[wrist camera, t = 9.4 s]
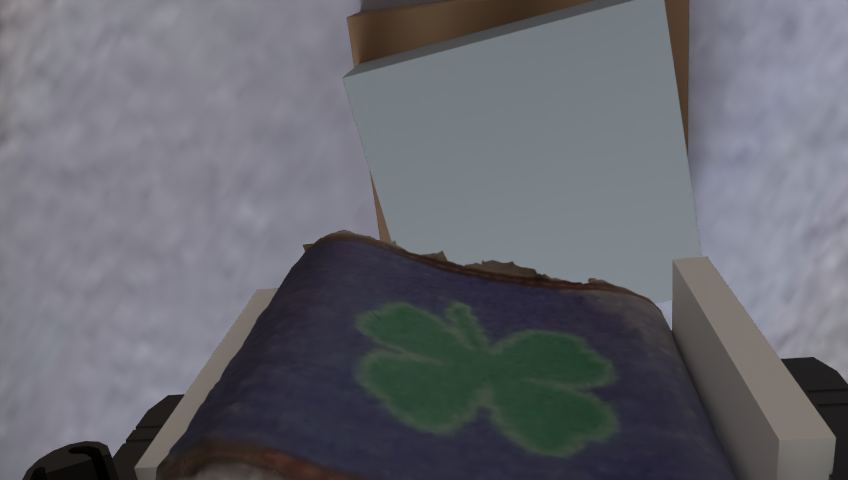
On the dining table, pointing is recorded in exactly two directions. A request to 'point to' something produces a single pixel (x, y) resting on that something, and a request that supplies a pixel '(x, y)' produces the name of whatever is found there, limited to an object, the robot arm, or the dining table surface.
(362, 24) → the tower base block
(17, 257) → the dining table surface
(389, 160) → the tower top block
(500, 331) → the flask
